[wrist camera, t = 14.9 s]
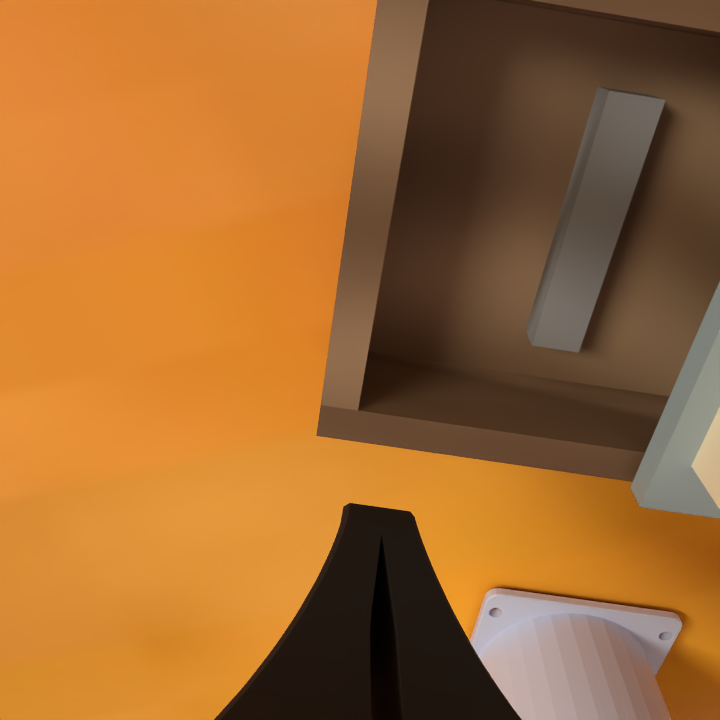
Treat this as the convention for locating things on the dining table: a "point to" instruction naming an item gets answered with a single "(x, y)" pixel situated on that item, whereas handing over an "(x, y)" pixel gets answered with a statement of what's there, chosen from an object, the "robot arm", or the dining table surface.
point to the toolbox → (527, 229)
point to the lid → (688, 433)
